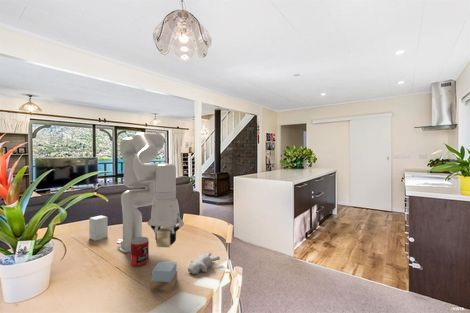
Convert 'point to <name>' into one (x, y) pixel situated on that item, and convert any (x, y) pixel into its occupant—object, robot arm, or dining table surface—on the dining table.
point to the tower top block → (164, 272)
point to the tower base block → (164, 285)
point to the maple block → (163, 237)
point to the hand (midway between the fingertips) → (165, 242)
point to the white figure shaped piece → (201, 263)
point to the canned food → (139, 251)
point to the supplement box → (98, 227)
